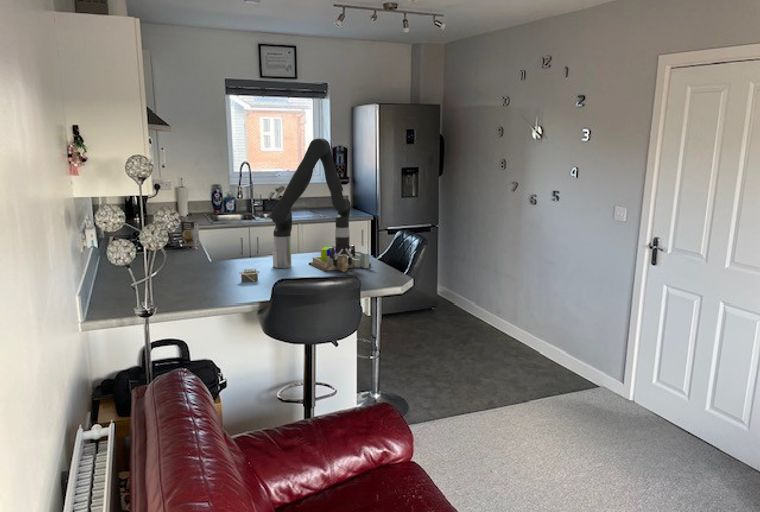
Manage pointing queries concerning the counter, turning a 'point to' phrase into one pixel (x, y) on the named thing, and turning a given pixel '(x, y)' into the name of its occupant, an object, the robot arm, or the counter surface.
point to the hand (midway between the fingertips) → (342, 265)
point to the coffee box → (190, 233)
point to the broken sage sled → (361, 260)
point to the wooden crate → (249, 275)
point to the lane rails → (323, 268)
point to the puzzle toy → (327, 254)
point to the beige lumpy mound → (341, 263)
